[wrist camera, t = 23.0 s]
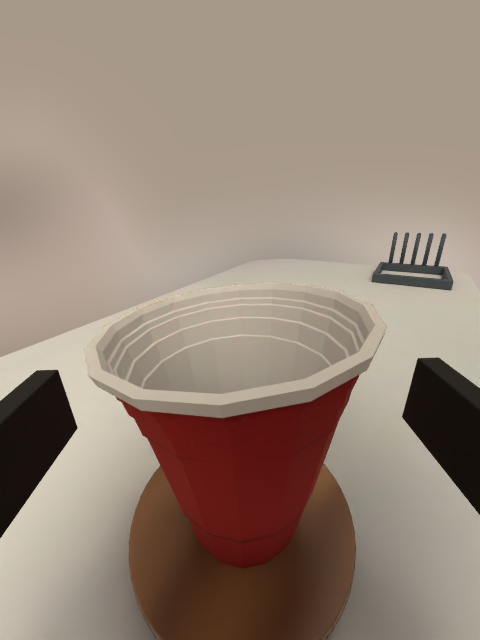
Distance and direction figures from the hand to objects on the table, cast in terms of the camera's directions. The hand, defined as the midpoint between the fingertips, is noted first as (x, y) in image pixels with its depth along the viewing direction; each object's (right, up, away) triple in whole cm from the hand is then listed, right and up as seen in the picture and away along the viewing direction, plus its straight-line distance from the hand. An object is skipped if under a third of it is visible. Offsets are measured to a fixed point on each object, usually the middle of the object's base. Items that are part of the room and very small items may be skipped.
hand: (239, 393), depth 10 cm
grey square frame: (+39, +12, +51) cm, 65 cm away
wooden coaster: (0, -8, +5) cm, 10 cm away
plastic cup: (0, -8, +5) cm, 9 cm away
